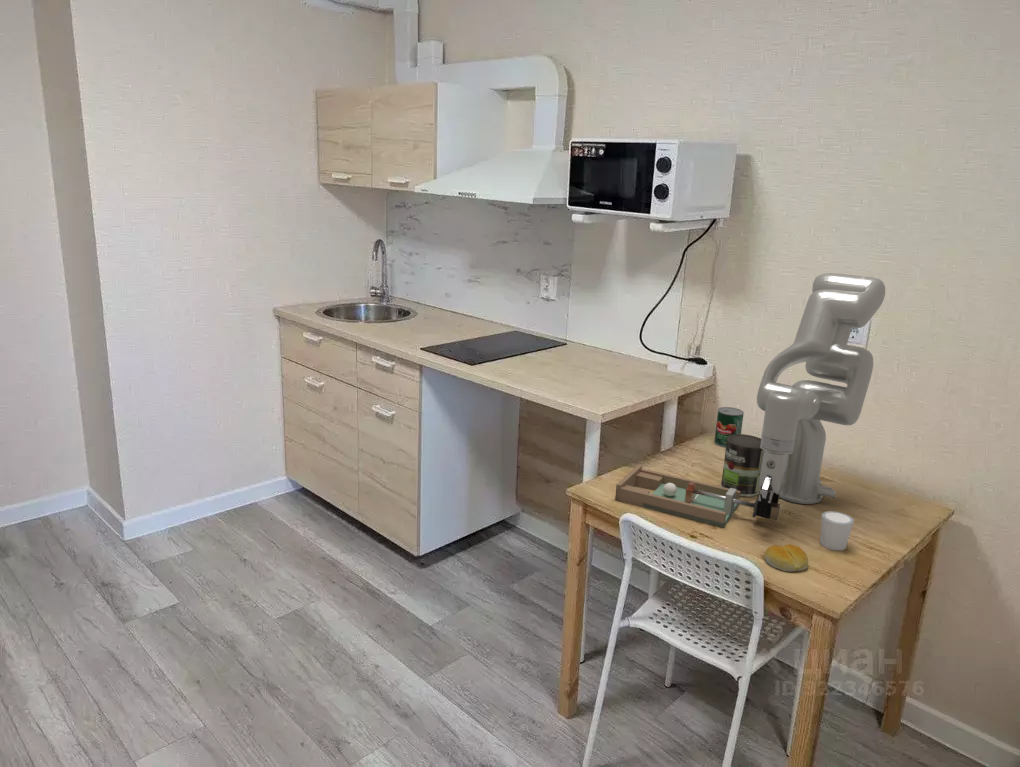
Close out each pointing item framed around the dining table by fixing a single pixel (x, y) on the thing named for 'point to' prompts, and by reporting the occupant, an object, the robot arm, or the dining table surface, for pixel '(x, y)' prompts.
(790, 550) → the bread roll
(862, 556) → the dining table surface
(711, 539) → the dining table surface
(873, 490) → the dining table surface
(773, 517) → the kicker rod
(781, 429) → the robot arm
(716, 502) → the pitch
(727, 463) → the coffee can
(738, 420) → the canned tomato
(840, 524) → the white cup
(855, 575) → the dining table surface
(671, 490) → the ball
